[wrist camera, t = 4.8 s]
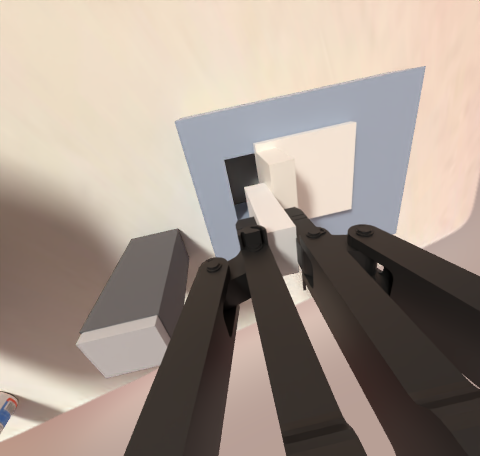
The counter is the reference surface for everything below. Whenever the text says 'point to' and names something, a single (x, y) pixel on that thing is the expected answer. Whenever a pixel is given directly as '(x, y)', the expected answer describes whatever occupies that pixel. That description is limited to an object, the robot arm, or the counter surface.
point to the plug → (138, 306)
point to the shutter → (310, 169)
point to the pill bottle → (6, 408)
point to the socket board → (300, 120)
